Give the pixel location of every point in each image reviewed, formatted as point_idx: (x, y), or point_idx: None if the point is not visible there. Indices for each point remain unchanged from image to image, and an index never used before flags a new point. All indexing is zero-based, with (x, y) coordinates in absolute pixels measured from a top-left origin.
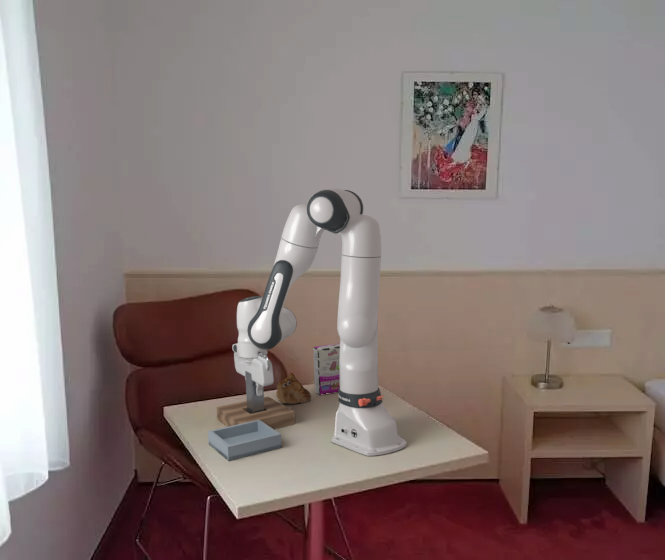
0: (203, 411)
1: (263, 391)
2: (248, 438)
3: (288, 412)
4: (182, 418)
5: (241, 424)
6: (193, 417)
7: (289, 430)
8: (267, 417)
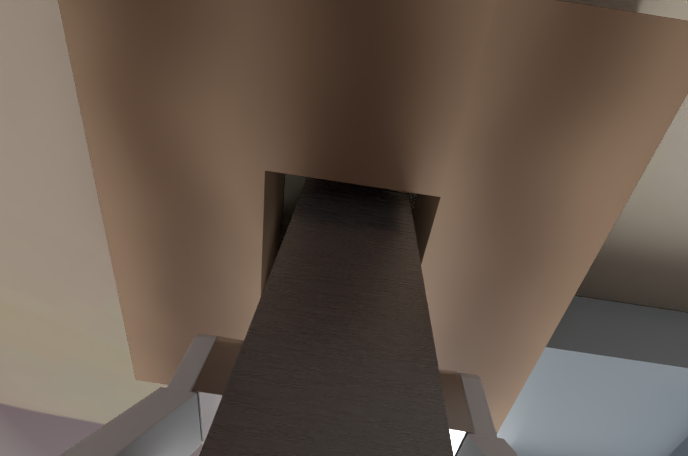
0: (13, 307)
1: (433, 345)
2: (566, 390)
3: (667, 96)
4: (81, 399)
5: (511, 433)
6: (88, 370)
7: (672, 140)
8: (570, 293)
